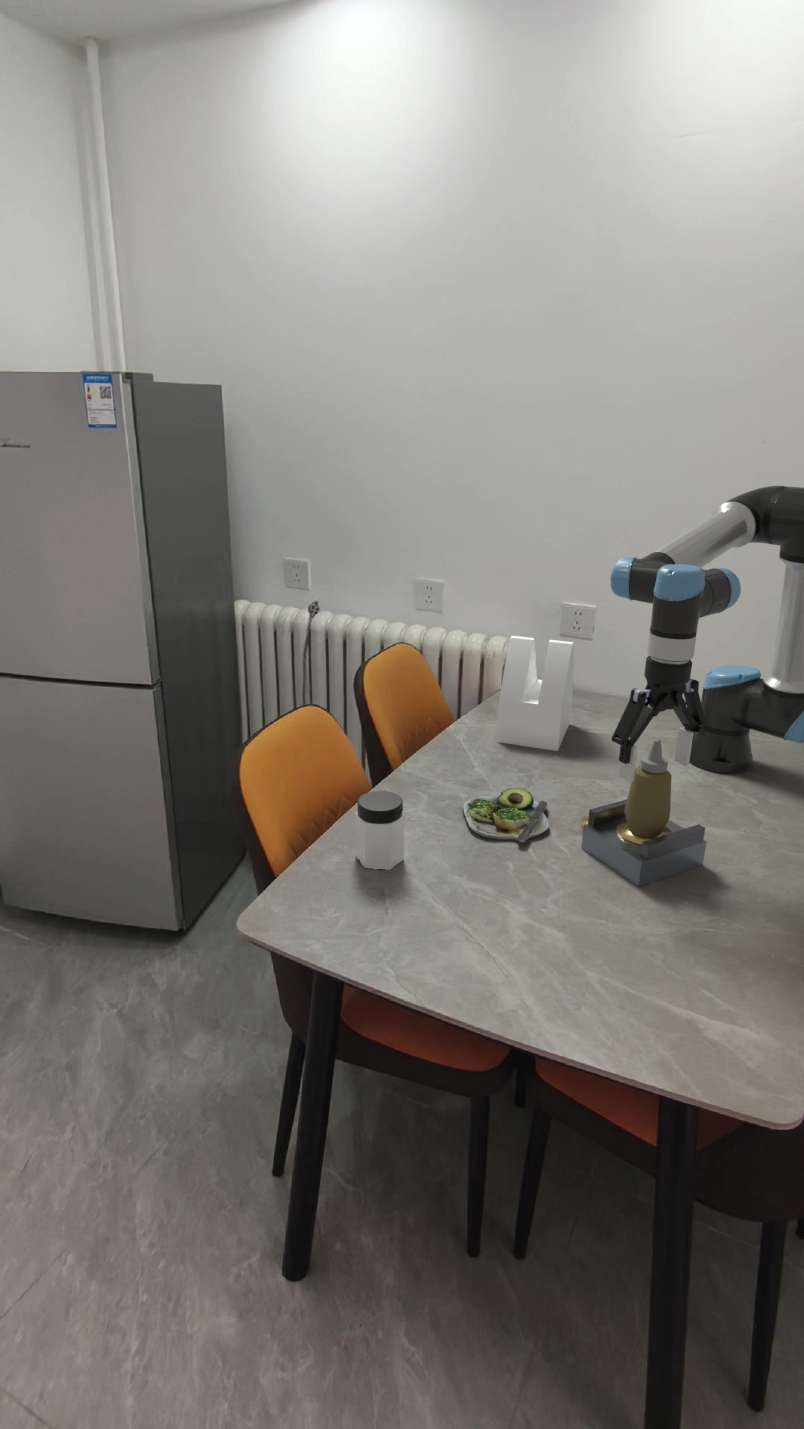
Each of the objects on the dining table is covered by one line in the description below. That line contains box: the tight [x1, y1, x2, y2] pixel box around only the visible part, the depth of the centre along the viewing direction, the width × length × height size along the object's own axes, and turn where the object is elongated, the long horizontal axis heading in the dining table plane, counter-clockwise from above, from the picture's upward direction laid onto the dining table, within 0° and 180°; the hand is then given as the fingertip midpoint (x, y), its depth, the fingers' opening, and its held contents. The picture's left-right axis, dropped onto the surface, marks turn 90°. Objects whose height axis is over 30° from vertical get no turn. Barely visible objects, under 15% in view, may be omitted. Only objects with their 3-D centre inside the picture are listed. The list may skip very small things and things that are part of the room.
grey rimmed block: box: [580, 798, 707, 888], centre depth 147 cm, size 16×15×8 cm
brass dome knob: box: [579, 815, 589, 835], centre depth 157 cm, size 6×6×2 cm
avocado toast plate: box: [462, 787, 550, 844], centre depth 159 cm, size 19×18×5 cm
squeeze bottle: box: [624, 739, 672, 837], centre depth 144 cm, size 8×8×18 cm
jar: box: [354, 790, 406, 871], centre depth 144 cm, size 9×8×12 cm
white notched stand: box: [495, 635, 575, 752], centre depth 201 cm, size 19×15×25 cm
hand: (654, 770), depth 143 cm, fingers open, 13 cm apart
